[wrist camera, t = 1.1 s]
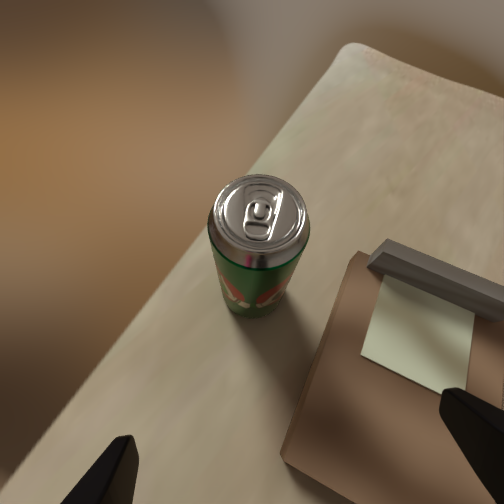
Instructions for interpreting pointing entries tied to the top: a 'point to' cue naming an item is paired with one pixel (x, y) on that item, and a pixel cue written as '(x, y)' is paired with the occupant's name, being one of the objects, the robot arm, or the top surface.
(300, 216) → the soda can
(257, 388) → the top surface
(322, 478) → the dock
